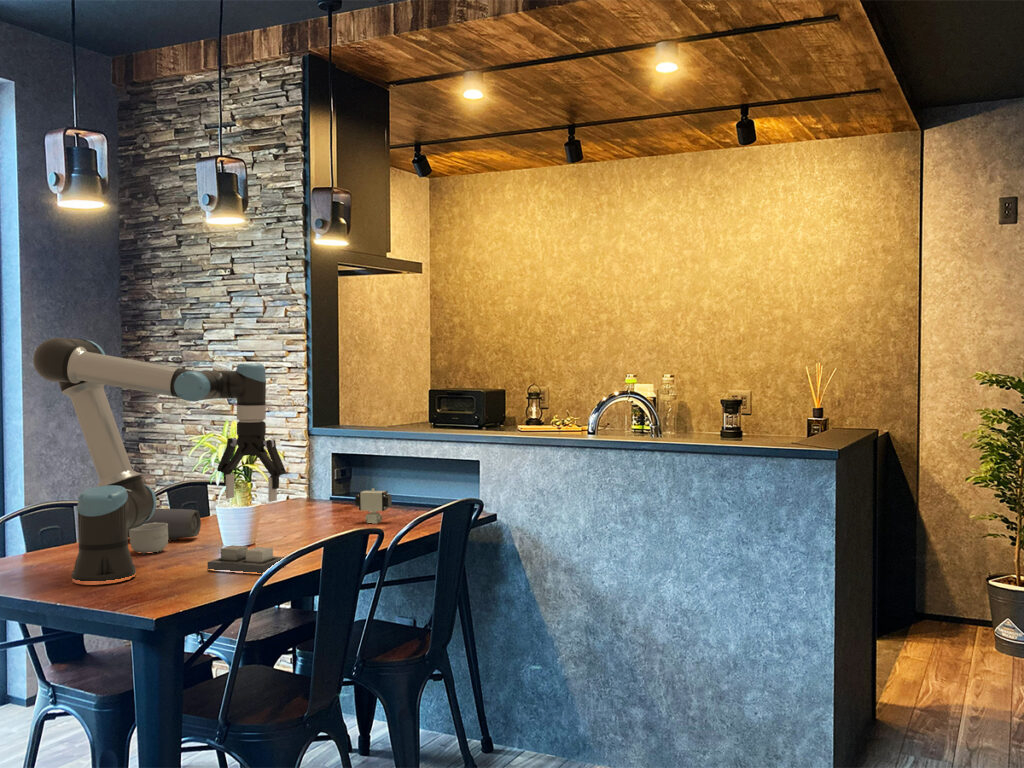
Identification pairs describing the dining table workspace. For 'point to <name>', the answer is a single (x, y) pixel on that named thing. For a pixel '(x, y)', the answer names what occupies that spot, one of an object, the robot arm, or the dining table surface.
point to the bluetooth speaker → (178, 522)
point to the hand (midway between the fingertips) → (251, 499)
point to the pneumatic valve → (373, 504)
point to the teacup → (149, 537)
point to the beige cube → (259, 555)
